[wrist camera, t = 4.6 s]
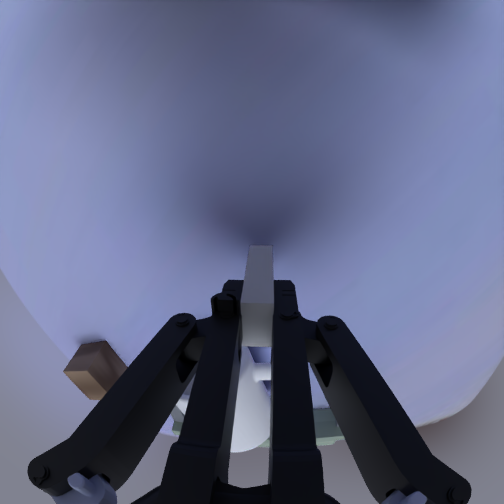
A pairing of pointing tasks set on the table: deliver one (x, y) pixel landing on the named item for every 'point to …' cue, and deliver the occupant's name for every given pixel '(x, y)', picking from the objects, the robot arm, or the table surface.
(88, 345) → the walnut block
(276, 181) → the table surface
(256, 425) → the mug
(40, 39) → the table surface
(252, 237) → the table surface
